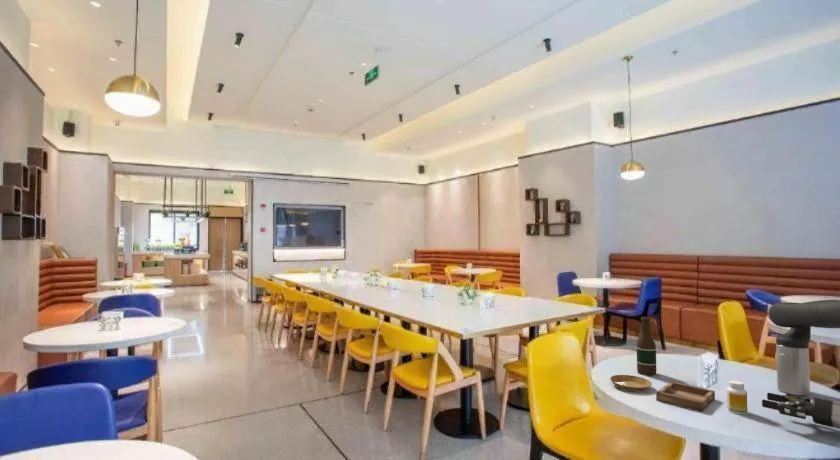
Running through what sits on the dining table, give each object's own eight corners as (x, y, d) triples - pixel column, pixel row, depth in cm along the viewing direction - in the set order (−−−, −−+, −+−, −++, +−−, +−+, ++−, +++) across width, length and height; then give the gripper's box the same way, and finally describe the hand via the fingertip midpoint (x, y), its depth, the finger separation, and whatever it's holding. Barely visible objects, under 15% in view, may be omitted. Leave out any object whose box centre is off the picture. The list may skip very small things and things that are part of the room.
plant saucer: (642, 381, 173) (642, 375, 173) (659, 394, 158) (658, 387, 158) (604, 380, 174) (604, 374, 174) (618, 393, 160) (617, 386, 160)
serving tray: (671, 389, 163) (671, 381, 163) (714, 399, 152) (714, 391, 152) (656, 400, 152) (656, 392, 152) (701, 411, 141) (701, 402, 142)
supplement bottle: (751, 415, 138) (750, 385, 139) (732, 414, 139) (731, 384, 140) (742, 408, 144) (741, 380, 144) (724, 407, 145) (723, 379, 145)
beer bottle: (660, 376, 178) (659, 318, 179) (642, 376, 179) (640, 319, 179) (650, 370, 186) (649, 315, 187) (633, 370, 186) (631, 315, 187)
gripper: (836, 395, 129) (768, 382, 141) (832, 408, 120) (760, 393, 132) (837, 420, 129) (769, 405, 141) (833, 435, 119) (760, 417, 131)
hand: (764, 399), depth 136 cm, fingers open, 8 cm apart
